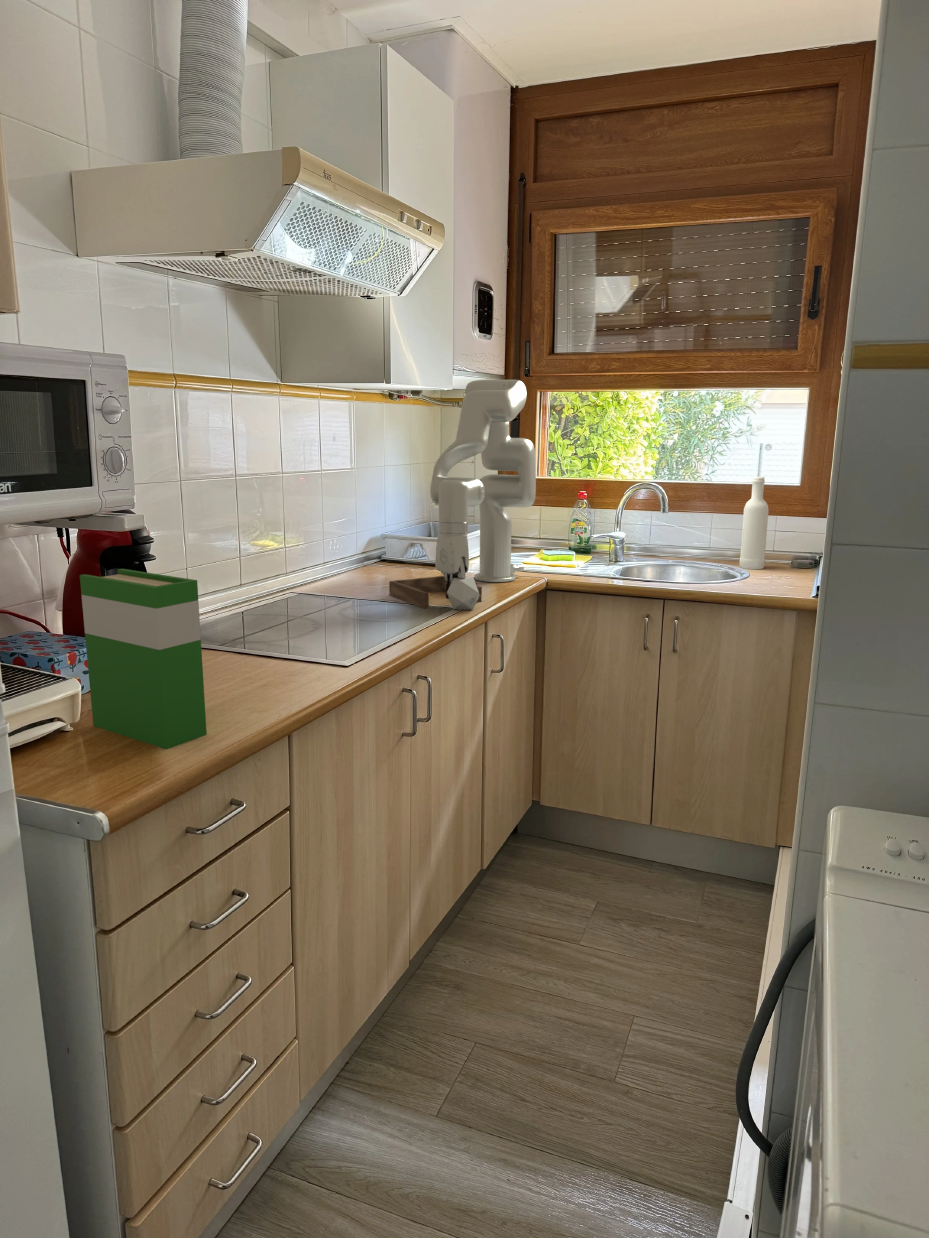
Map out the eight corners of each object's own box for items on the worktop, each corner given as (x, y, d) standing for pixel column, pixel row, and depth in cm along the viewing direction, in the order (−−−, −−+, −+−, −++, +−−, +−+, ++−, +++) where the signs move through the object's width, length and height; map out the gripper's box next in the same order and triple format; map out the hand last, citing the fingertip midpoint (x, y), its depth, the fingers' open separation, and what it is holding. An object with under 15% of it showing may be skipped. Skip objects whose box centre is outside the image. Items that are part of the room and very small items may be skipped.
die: (466, 617, 220) (487, 585, 221) (437, 598, 221) (458, 566, 222) (467, 619, 229) (487, 588, 229) (440, 602, 229) (460, 571, 230)
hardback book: (93, 726, 138) (79, 575, 132) (133, 713, 144) (122, 568, 139) (166, 749, 128) (154, 587, 123) (206, 734, 134) (197, 580, 129)
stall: (443, 589, 251) (443, 575, 251) (481, 601, 235) (481, 587, 234) (389, 595, 243) (389, 581, 242) (424, 608, 226) (424, 593, 225)
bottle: (746, 565, 299) (753, 476, 292) (768, 567, 294) (775, 477, 287) (734, 567, 293) (741, 476, 287) (757, 570, 288) (764, 478, 282)
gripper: (426, 526, 230) (426, 595, 234) (455, 532, 218) (454, 605, 222) (451, 525, 234) (450, 592, 238) (480, 530, 222) (480, 602, 226)
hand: (452, 598), depth 230 cm, fingers closed
